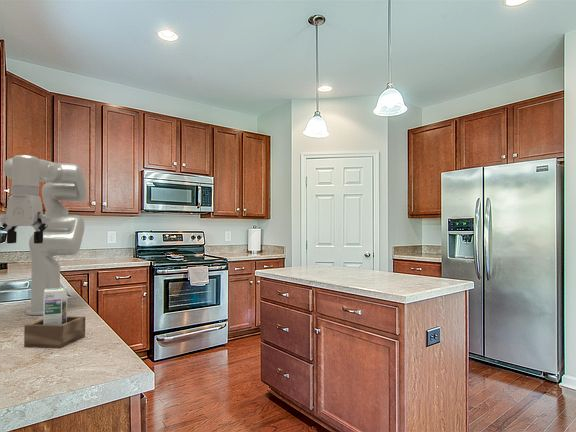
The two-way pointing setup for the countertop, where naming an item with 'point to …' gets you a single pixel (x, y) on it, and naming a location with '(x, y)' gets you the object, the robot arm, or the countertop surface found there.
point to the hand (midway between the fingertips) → (24, 243)
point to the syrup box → (55, 306)
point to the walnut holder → (54, 333)
